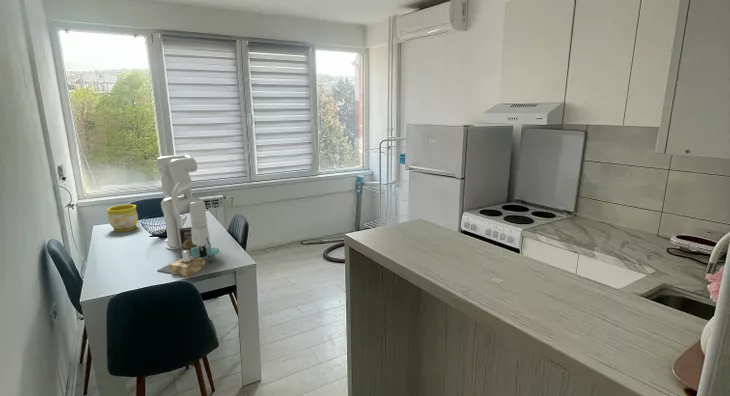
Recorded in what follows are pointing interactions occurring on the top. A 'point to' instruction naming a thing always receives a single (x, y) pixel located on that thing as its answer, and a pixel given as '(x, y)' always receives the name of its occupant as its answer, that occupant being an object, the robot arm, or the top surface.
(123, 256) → the top surface
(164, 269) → the place mat
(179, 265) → the block
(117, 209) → the flowerpot
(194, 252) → the teal toy sofa
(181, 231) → the coffee box
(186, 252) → the hook peg
